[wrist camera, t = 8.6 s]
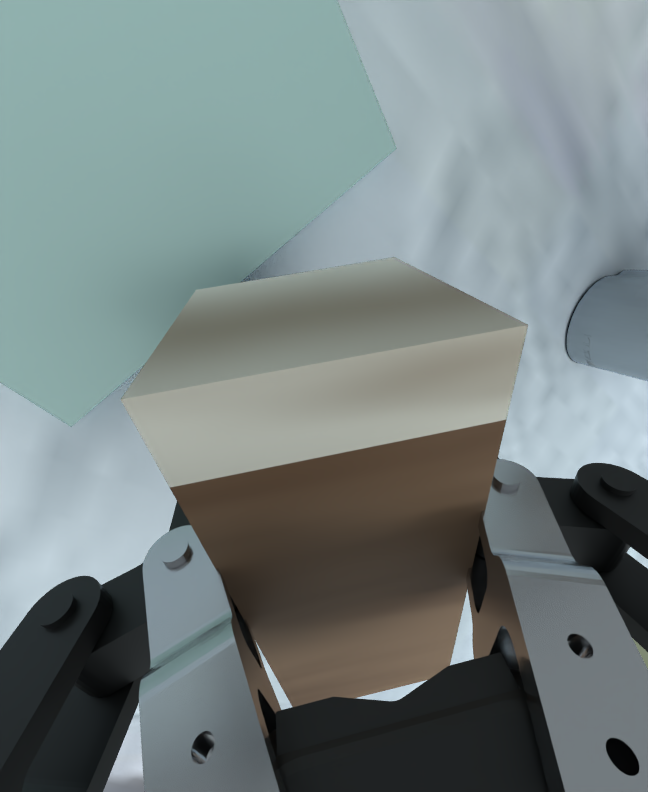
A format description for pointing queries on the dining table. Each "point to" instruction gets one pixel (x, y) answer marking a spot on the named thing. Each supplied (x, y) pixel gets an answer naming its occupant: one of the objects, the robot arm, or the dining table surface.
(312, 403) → the brown tall square block
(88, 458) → the dining table surface
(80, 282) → the sage board
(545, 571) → the robot arm
